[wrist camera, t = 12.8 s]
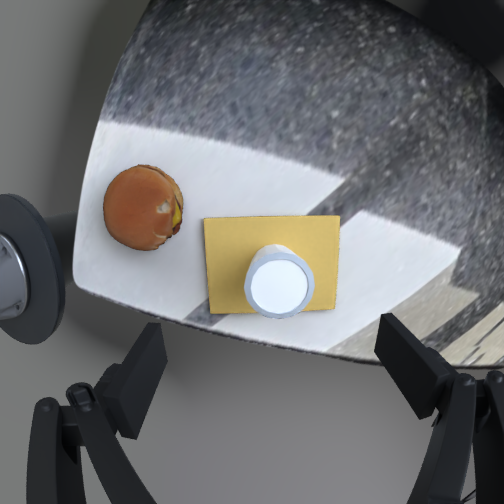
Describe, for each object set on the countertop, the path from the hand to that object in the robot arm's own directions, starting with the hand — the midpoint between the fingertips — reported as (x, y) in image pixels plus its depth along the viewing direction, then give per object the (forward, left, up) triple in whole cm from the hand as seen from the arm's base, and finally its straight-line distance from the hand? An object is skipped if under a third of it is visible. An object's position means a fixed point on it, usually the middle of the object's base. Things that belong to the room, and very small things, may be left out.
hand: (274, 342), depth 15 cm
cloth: (+1, -1, -19) cm, 19 cm away
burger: (-14, +7, -19) cm, 24 cm away
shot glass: (+1, -1, -19) cm, 19 cm away
